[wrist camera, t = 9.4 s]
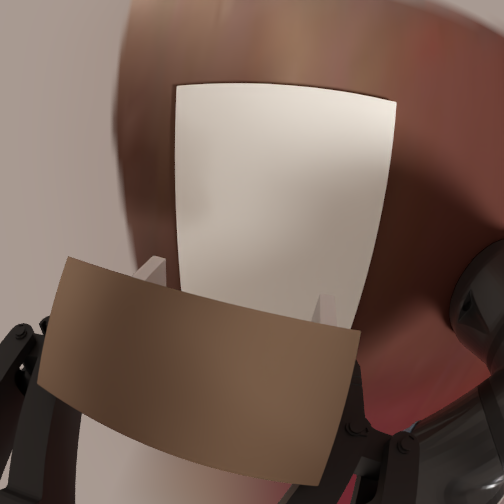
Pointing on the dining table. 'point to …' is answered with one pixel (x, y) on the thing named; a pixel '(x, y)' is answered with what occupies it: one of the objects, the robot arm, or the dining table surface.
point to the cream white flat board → (279, 194)
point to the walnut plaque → (198, 374)
